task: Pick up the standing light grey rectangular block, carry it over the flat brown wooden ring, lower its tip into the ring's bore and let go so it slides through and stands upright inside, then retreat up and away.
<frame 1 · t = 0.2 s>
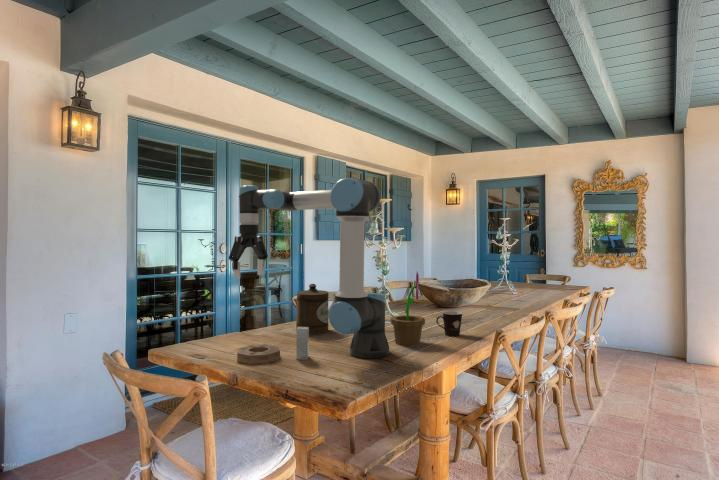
hand: (249, 276, 184), 28 cm above the table, fingers open, 13 cm apart
flowerpot: (407, 343, 188), on the table
brown wooden ring: (258, 357, 165), on the table
light grey rectangular block: (302, 357, 165), on the table
coffee mug: (448, 335, 203), on the table
wooden container: (312, 331, 210), on the table
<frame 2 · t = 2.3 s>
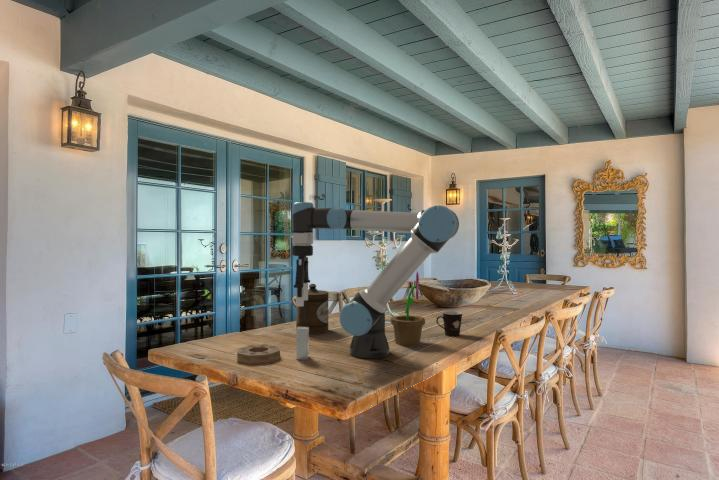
hand: (302, 303, 165), 20 cm above the table, fingers open, 13 cm apart
nothing on the table moved.
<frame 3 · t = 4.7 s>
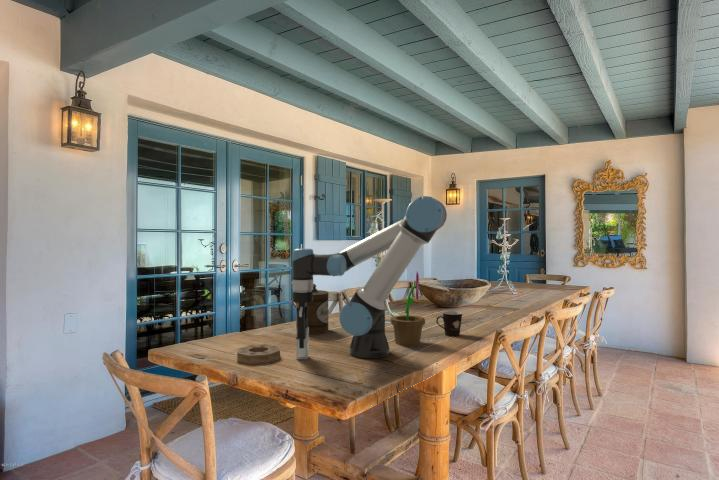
hand: (302, 354, 165), 1 cm above the table, fingers closed on light grey rectangular block, 4 cm apart
light grey rectangular block: (302, 357, 165), on the table, touching gripper
everything else where it was.
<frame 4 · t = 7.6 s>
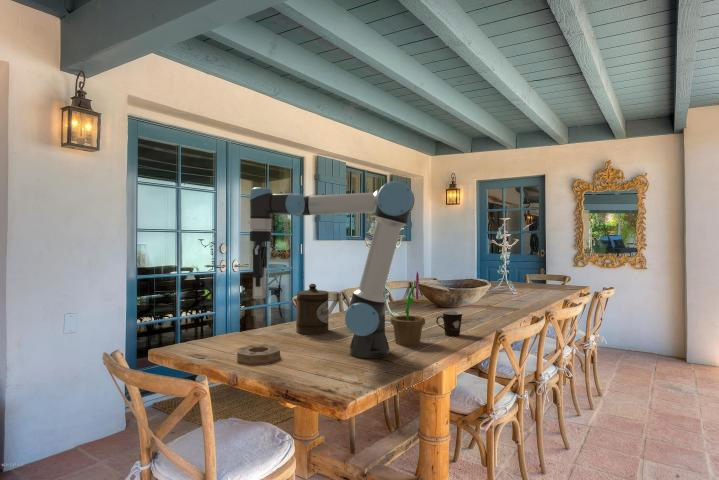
hand: (259, 294, 165), 23 cm above the table, fingers closed on light grey rectangular block, 4 cm apart
light grey rectangular block: (259, 297, 165), point 22 cm above the table, touching gripper
everything else where it was.
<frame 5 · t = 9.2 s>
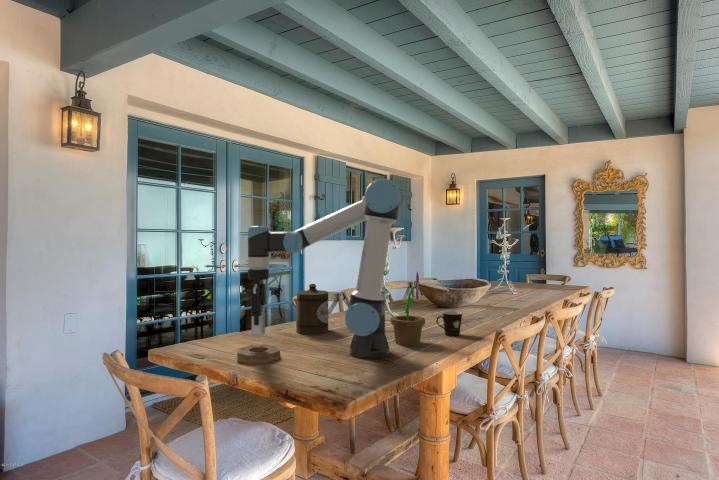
hand: (258, 332, 165), 9 cm above the table, fingers closed on light grey rectangular block, 4 cm apart
light grey rectangular block: (258, 335, 165), point 8 cm above the table, touching gripper
everything else where it was.
when the fingers open (4 cm above the table, at t = 10.6 s): light grey rectangular block drops 2 cm, resting in brown wooden ring.
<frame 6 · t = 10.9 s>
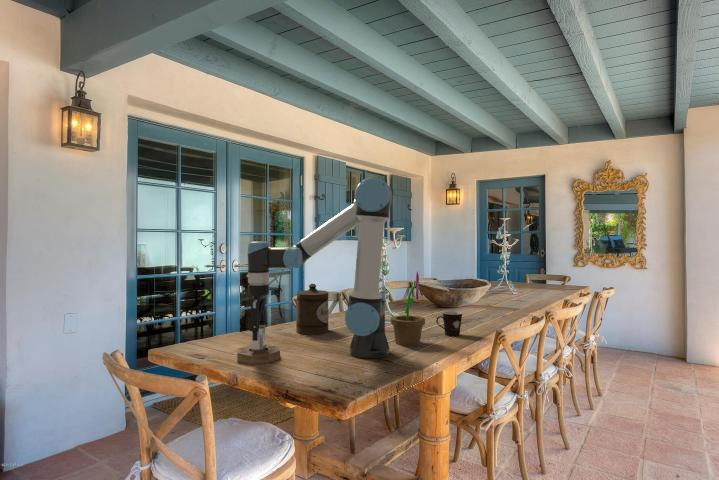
hand: (258, 345, 165), 4 cm above the table, fingers open, 8 cm apart
light grey rectangular block: (258, 357, 166), resting in brown wooden ring
everything else where it was.
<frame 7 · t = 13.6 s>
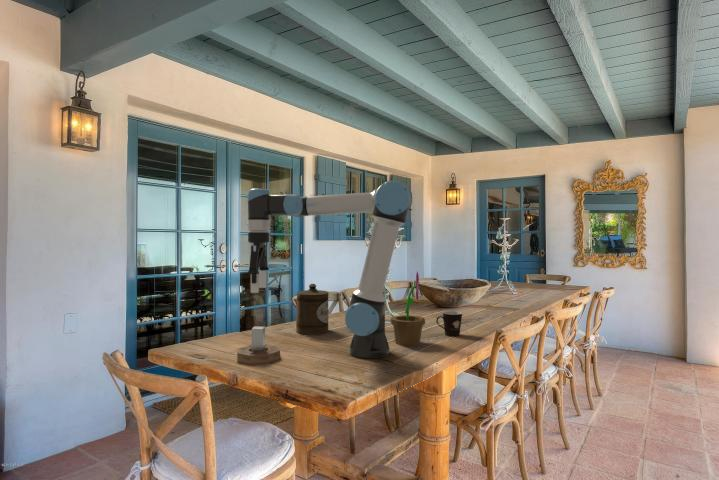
hand: (258, 290, 165), 25 cm above the table, fingers open, 13 cm apart
nothing on the table moved.
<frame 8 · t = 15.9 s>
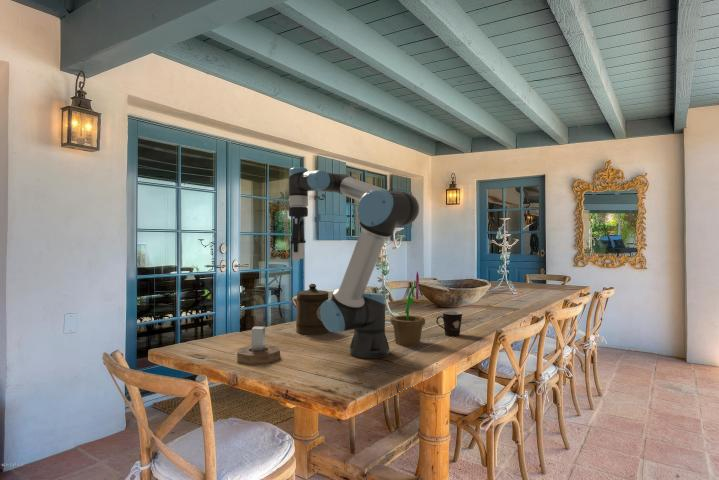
hand: (298, 259, 182), 35 cm above the table, fingers open, 13 cm apart
nothing on the table moved.
at the end: light grey rectangular block 0.0 cm from the brown wooden ring (horizontally); light grey rectangular block resting in brown wooden ring; light grey rectangular block tilted 0° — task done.
